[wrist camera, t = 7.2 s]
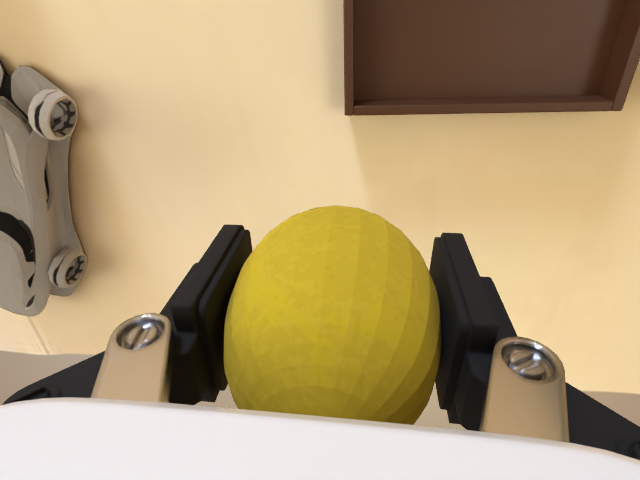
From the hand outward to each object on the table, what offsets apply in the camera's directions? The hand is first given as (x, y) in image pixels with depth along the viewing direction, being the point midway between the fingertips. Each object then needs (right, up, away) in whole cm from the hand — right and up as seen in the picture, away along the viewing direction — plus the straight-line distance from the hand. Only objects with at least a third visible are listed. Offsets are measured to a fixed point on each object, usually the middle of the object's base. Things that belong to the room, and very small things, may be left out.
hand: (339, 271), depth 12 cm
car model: (-27, +5, +24) cm, 37 cm away
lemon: (0, +1, +2) cm, 2 cm away
